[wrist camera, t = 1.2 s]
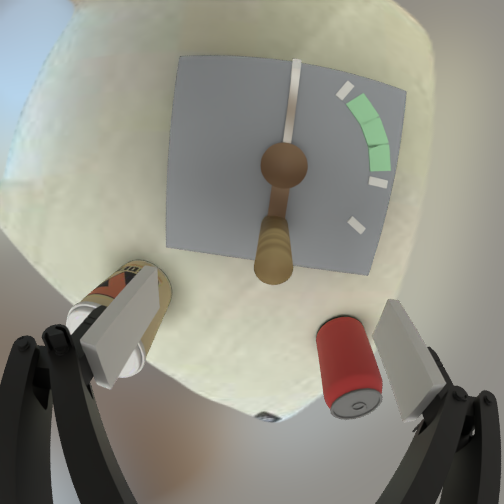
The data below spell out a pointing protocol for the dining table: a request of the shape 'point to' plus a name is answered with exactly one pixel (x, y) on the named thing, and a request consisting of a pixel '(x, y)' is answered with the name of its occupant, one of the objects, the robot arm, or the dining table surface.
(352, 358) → the beer can
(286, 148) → the peg dial
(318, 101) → the board
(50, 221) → the dining table surface
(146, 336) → the coffee cup
